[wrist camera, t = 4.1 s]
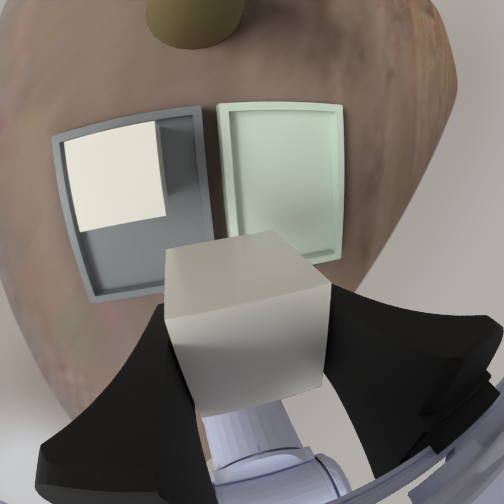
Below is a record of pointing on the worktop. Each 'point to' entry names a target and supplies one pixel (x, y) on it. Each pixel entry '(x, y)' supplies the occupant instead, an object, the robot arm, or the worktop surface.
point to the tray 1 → (149, 230)
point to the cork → (193, 21)
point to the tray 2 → (284, 173)
